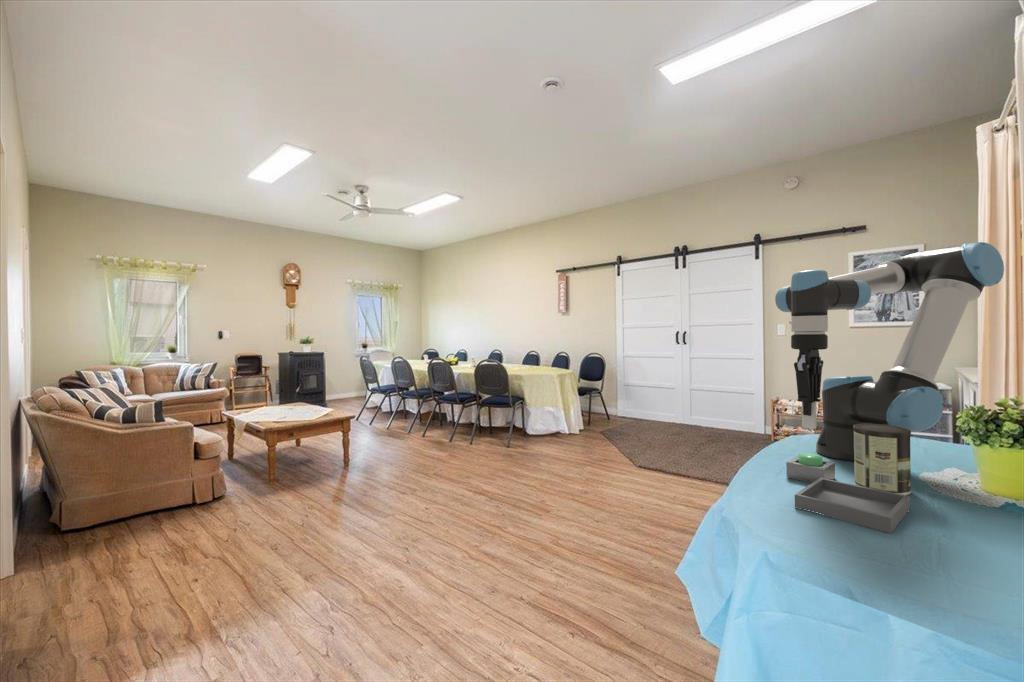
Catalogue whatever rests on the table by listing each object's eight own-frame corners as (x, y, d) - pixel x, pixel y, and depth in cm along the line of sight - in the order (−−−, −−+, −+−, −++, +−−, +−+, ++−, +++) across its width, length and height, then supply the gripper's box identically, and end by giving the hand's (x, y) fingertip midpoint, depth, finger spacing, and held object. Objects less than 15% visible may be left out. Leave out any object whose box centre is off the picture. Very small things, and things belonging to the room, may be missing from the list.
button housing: (798, 470, 115) (798, 455, 115) (835, 478, 109) (834, 462, 109) (786, 477, 110) (786, 461, 110) (824, 486, 104) (823, 469, 104)
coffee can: (892, 481, 106) (892, 423, 106) (923, 497, 96) (922, 433, 95) (844, 479, 108) (843, 422, 108) (869, 495, 98) (869, 432, 98)
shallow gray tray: (820, 489, 102) (820, 477, 102) (909, 509, 90) (909, 496, 90) (794, 507, 92) (794, 494, 92) (890, 533, 80) (890, 518, 80)
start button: (802, 467, 113) (802, 452, 113) (825, 472, 109) (825, 456, 109) (795, 471, 110) (795, 456, 110) (818, 476, 106) (818, 460, 106)
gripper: (801, 333, 116) (801, 421, 116) (781, 333, 108) (782, 429, 108) (835, 332, 110) (835, 426, 110) (817, 333, 102) (817, 434, 102)
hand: (809, 427), depth 109 cm, fingers closed
